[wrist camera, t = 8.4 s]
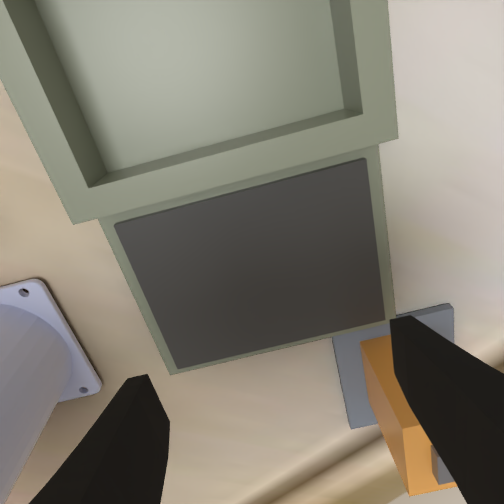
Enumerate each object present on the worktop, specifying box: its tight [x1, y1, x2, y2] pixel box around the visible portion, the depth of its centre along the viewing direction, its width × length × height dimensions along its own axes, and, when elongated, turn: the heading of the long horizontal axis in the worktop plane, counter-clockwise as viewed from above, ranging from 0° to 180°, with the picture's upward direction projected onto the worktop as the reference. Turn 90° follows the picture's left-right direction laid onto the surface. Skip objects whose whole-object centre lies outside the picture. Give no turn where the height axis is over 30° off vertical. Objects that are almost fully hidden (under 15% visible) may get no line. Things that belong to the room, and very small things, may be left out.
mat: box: [332, 303, 454, 429], centre depth 23 cm, size 7×8×1 cm
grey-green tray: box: [0, 0, 398, 375], centre depth 16 cm, size 13×20×4 cm, turn 14°
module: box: [360, 334, 457, 496], centre depth 20 cm, size 4×5×7 cm
